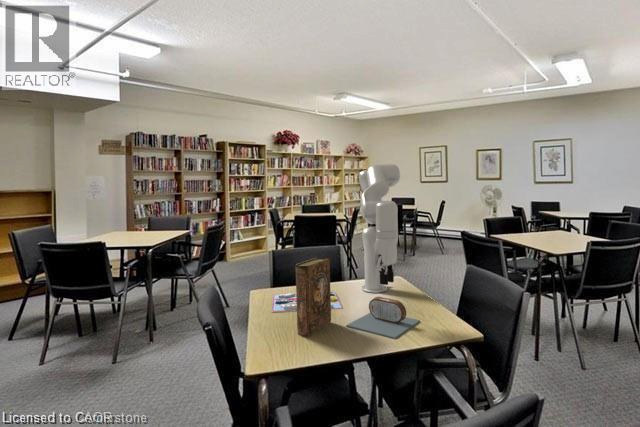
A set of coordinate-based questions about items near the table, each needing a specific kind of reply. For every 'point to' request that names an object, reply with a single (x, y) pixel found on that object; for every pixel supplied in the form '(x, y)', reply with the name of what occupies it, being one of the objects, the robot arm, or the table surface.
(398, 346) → the table surface
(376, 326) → the mat
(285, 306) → the puzzle board
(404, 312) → the tin
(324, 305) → the book
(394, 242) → the robot arm
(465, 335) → the table surface
